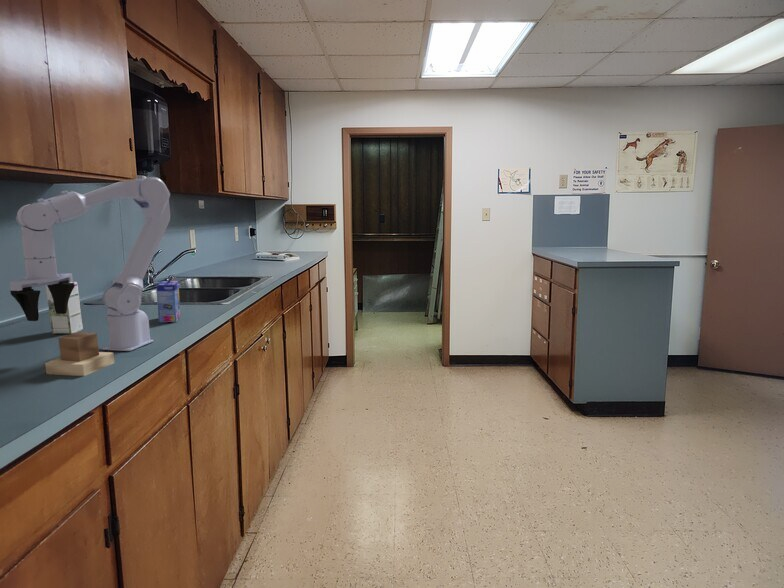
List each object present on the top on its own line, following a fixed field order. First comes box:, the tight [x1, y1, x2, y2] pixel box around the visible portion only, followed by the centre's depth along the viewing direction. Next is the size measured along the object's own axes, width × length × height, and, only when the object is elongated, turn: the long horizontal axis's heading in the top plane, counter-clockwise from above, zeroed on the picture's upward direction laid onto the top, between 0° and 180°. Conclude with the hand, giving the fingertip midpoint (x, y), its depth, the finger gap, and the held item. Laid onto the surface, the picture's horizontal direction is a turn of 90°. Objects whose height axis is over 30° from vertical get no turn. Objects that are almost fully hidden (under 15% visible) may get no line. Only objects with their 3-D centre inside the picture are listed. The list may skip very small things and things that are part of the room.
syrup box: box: [45, 281, 84, 335], centre depth 137 cm, size 6×6×14 cm
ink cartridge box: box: [156, 274, 181, 324], centre depth 153 cm, size 10×6×14 cm, turn 17°
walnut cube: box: [57, 331, 100, 362], centre depth 105 cm, size 5×5×5 cm
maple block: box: [44, 351, 115, 377], centre depth 106 cm, size 9×9×3 cm
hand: (47, 317), depth 110 cm, fingers open, 7 cm apart
